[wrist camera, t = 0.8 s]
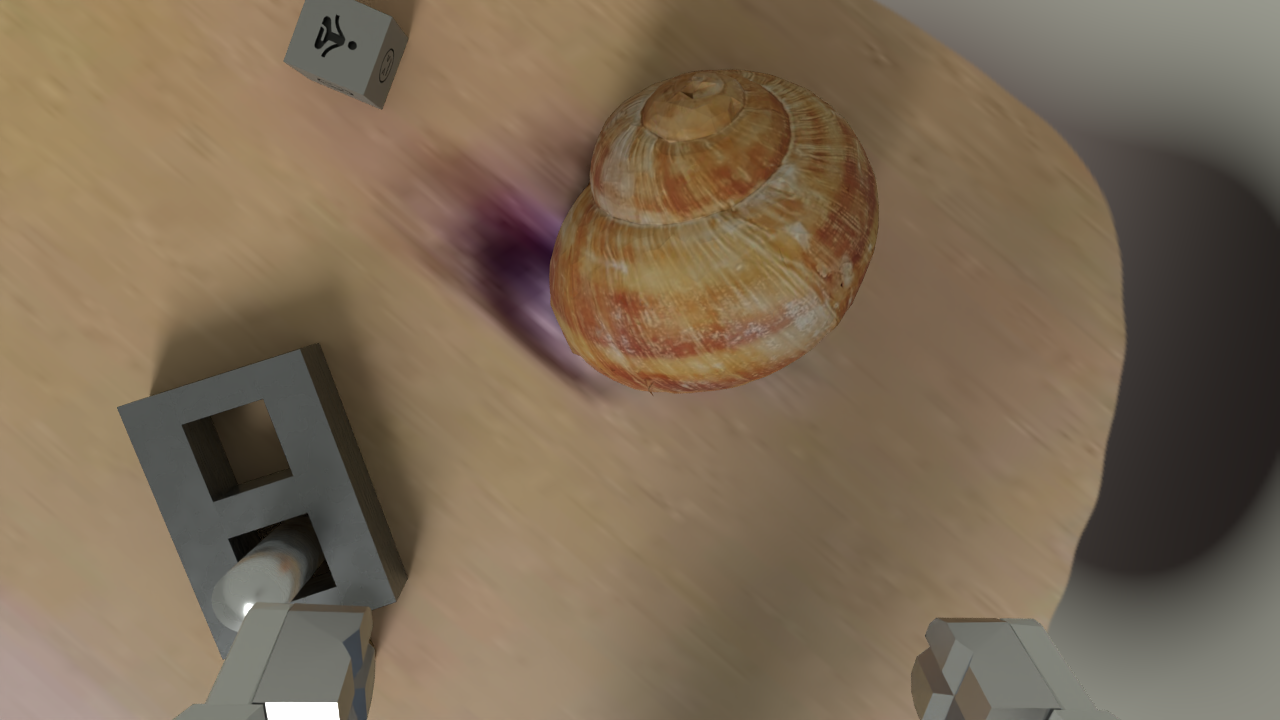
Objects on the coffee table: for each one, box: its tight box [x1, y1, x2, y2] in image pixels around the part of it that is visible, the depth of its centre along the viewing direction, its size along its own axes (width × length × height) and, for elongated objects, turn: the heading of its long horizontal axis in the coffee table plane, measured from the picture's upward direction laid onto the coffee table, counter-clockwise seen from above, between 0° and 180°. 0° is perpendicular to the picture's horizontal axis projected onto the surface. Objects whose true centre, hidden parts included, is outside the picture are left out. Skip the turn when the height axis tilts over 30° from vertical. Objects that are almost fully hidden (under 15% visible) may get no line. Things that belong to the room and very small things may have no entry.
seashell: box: [549, 69, 879, 395], centre depth 50 cm, size 21×20×15 cm
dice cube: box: [283, 0, 408, 110], centre depth 52 cm, size 5×5×5 cm
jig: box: [117, 343, 408, 659], centre depth 52 cm, size 18×12×10 cm, turn 17°
